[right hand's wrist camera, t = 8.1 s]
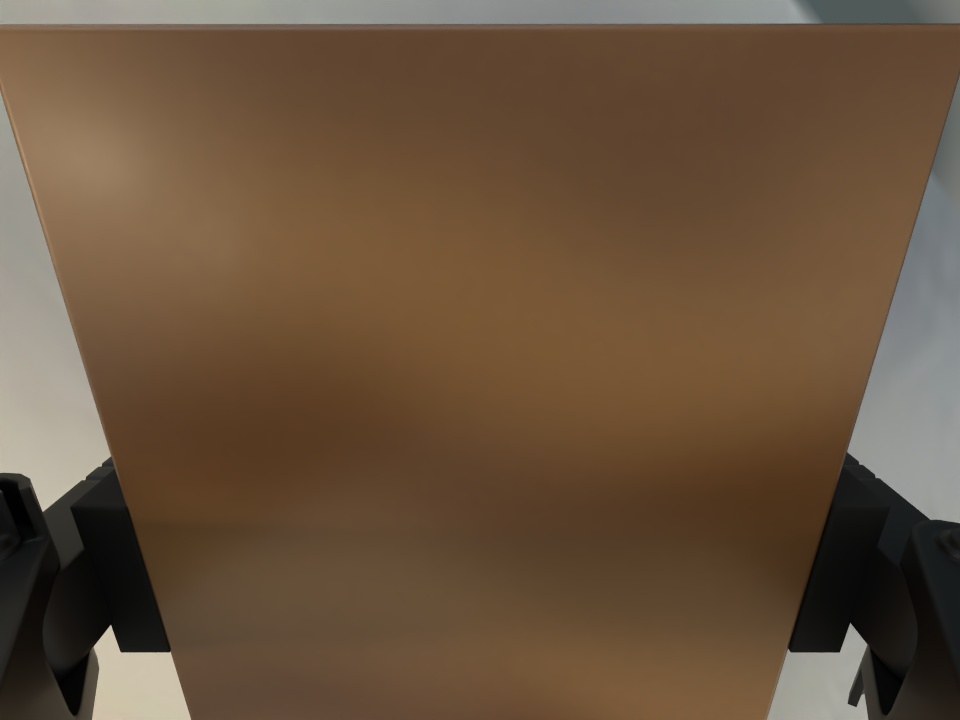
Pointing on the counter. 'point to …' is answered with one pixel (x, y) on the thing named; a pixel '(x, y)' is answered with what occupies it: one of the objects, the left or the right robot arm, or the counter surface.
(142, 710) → the counter surface
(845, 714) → the counter surface
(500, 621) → the wooden beam
